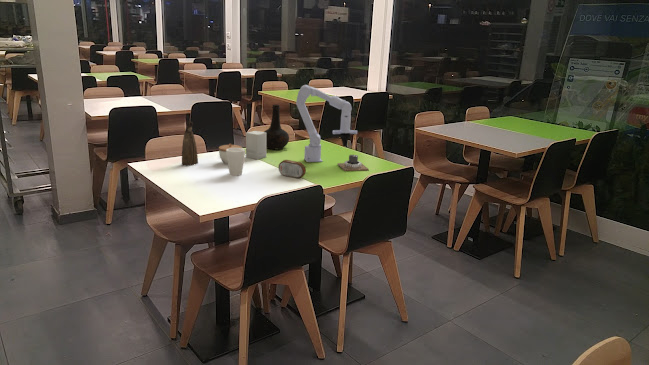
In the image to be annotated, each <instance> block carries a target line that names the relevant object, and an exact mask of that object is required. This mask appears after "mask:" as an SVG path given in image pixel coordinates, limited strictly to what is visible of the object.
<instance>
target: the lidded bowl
mask: <svg viewBox="0 0 649 365" xmlns="http://www.w3.org/2000/svg"><path fill="white" fill-rule="evenodd" d="M228 148H243V147H242V146H241V145H237V144H232V143H229V144H223V145H220V146H219V147H218V153H219V158H220V160H221V161H222V162H223V164H224V165H228V160H227V155H226V149H228Z"/></svg>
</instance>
